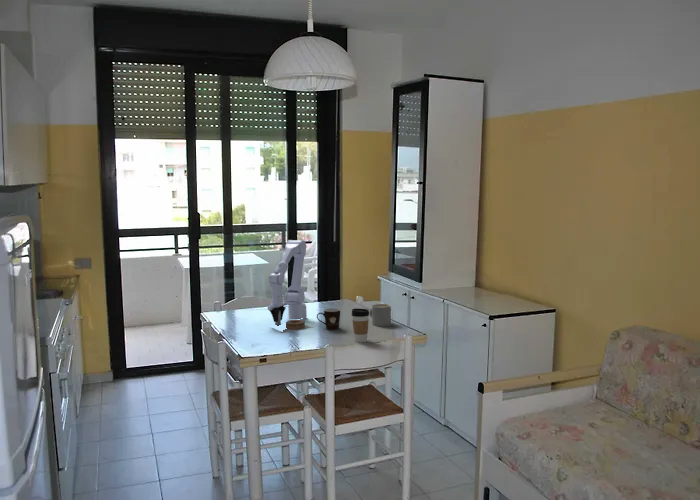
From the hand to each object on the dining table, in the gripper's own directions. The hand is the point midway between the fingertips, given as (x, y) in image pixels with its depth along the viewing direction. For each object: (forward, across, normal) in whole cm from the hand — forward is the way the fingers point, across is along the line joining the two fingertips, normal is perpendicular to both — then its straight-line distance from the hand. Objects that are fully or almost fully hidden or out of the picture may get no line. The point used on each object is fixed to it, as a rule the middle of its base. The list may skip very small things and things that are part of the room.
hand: (277, 321), depth 305 cm
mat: (+3, 0, +8) cm, 8 cm away
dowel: (+2, 0, 0) cm, 2 cm away
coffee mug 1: (+3, -6, +29) cm, 29 cm away
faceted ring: (+2, 0, +11) cm, 11 cm away
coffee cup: (+3, +8, +54) cm, 55 cm away
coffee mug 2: (+3, -26, +47) cm, 54 cm away
